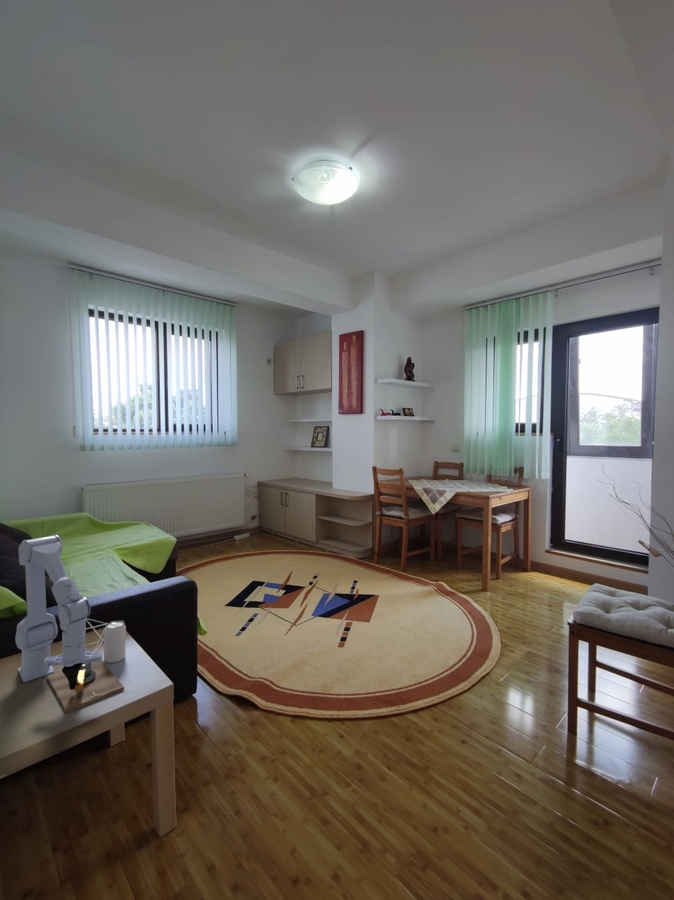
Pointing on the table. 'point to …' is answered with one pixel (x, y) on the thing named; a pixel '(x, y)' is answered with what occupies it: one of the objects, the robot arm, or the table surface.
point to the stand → (85, 687)
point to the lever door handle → (84, 676)
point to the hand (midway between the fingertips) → (73, 687)
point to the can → (114, 641)
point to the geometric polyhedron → (97, 633)
